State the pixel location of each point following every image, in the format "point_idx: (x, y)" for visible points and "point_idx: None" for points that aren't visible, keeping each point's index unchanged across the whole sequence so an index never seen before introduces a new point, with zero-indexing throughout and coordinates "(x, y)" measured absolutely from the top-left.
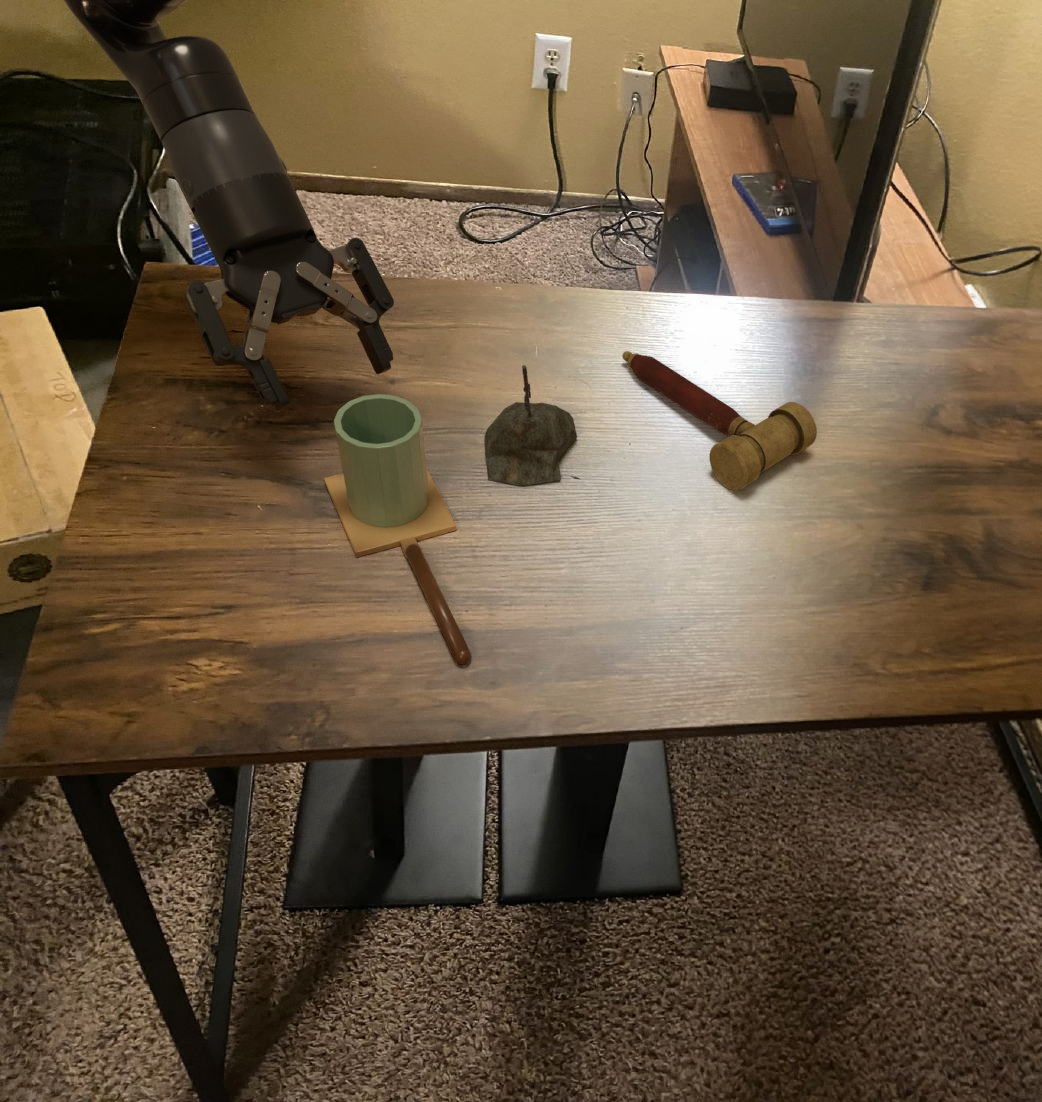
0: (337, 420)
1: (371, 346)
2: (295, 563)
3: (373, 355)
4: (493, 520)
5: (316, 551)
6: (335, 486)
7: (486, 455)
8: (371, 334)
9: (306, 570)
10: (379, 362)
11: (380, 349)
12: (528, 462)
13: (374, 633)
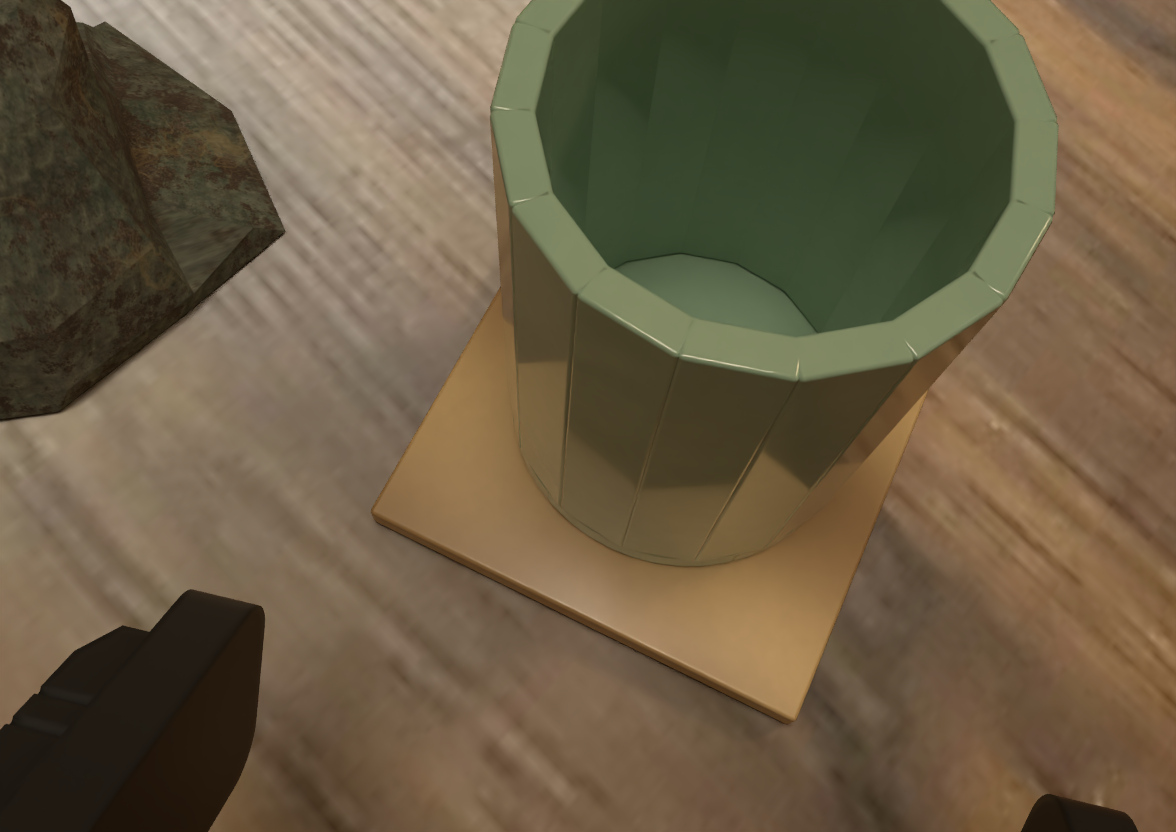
0: (983, 286)
1: (163, 767)
2: (1150, 442)
3: (197, 754)
4: (457, 84)
5: (1054, 432)
6: (793, 632)
7: (183, 283)
8: (79, 788)
9: (1136, 386)
10: (234, 657)
11: (144, 679)
12: (125, 102)
13: (1110, 39)
